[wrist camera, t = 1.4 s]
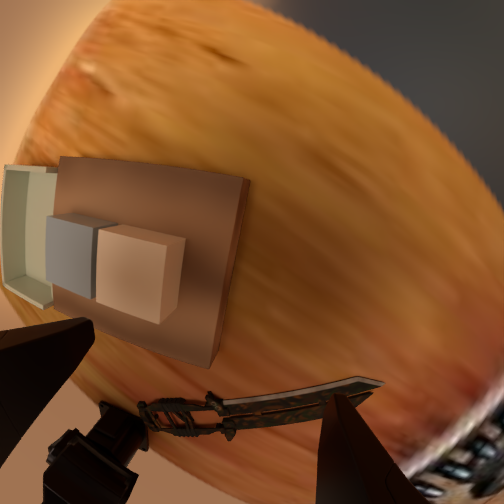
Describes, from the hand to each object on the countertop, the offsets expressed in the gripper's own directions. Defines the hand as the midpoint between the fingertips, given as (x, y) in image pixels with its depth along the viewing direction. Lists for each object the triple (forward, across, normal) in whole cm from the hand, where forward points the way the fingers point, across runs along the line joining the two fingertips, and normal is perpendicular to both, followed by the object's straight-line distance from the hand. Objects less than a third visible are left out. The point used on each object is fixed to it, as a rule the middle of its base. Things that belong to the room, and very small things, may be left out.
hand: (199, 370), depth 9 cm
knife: (+12, -2, +14) cm, 19 cm away
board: (+12, +10, +1) cm, 16 cm away
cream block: (+10, +7, +1) cm, 12 cm away
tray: (+12, +22, +2) cm, 26 cm away
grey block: (+9, +13, +1) cm, 16 cm away
